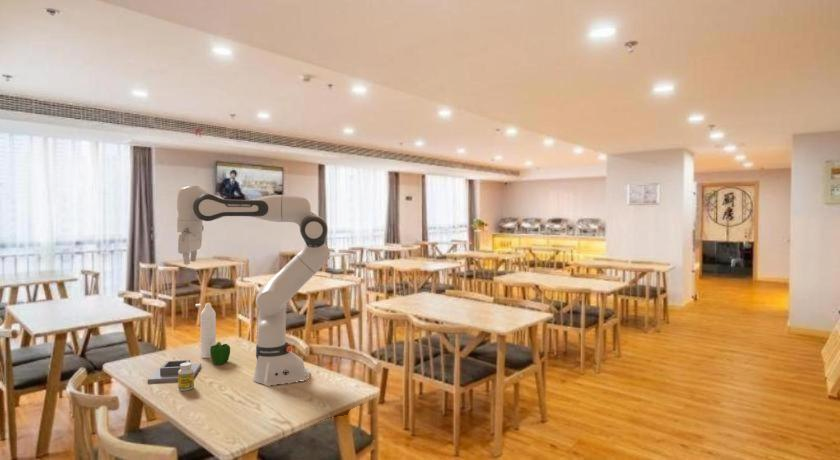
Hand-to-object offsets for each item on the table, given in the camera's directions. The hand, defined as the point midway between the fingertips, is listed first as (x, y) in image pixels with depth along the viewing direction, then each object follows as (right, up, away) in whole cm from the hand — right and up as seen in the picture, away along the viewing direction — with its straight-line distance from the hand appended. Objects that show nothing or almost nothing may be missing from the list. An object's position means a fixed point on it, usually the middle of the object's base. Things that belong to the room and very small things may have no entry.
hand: (190, 262), depth 183 cm
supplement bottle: (0, -49, -3) cm, 49 cm away
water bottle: (-9, -46, +34) cm, 58 cm away
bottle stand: (-11, -47, +11) cm, 50 cm away
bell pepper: (+1, -47, +26) cm, 53 cm away
